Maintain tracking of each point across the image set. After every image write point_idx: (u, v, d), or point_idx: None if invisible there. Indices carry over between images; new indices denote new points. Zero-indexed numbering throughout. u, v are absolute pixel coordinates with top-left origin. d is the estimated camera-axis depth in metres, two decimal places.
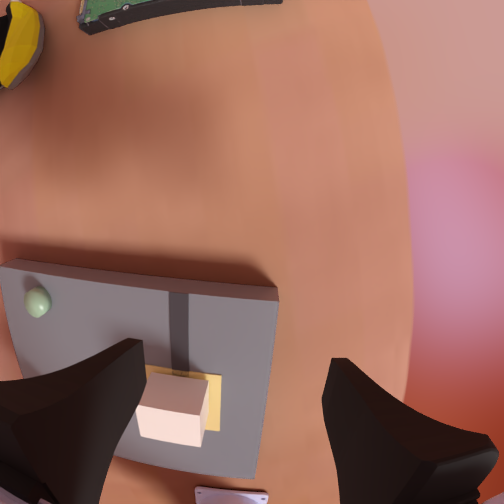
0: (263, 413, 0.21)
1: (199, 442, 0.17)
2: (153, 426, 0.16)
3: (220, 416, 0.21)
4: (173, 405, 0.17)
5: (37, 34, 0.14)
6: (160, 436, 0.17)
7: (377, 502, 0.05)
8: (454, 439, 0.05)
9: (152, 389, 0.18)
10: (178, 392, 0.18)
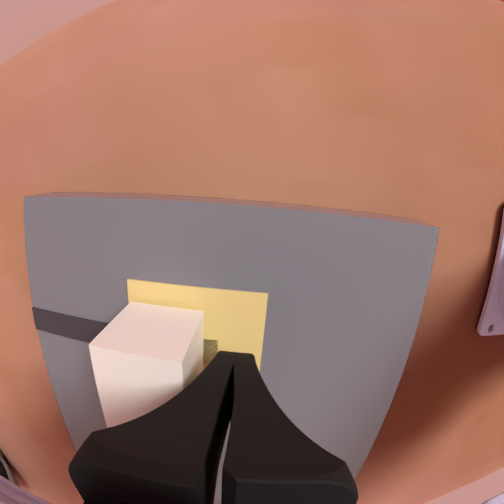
0: (211, 205, 0.11)
1: (165, 361, 0.08)
2: None
3: (226, 288, 0.12)
4: None
5: None
6: None
7: None
8: (296, 458, 0.05)
9: None
10: None
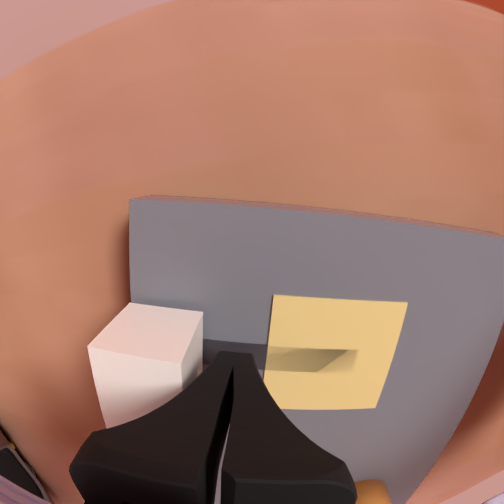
0: (369, 220, 0.11)
1: (164, 363, 0.08)
2: None
3: (373, 299, 0.12)
4: None
5: None
6: None
7: None
8: (295, 458, 0.05)
9: None
10: None
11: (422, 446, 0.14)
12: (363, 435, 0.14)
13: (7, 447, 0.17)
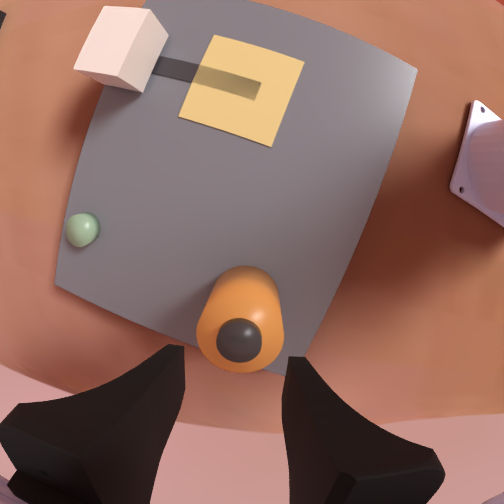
0: (284, 11, 0.15)
1: (141, 9, 0.11)
2: (105, 55, 0.12)
3: (278, 52, 0.15)
4: None
5: None
6: (121, 50, 0.12)
7: None
8: (391, 451, 0.05)
9: None
10: None
11: (322, 240, 0.18)
12: (258, 182, 0.17)
13: None
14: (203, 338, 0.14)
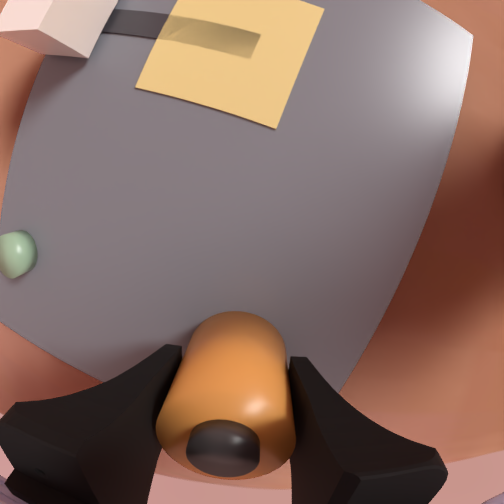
0: None
1: None
2: (29, 5, 0.06)
3: None
4: None
5: None
6: None
7: None
8: (394, 451, 0.05)
9: None
10: None
11: (352, 273, 0.12)
12: (255, 185, 0.11)
13: None
14: (167, 439, 0.08)
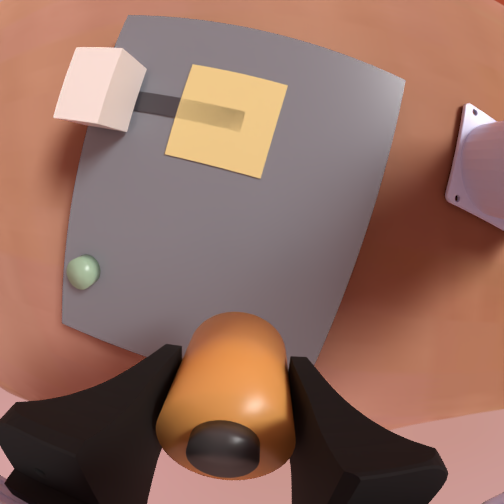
0: (262, 31, 0.15)
1: (113, 48, 0.12)
2: (83, 101, 0.12)
3: (260, 78, 0.16)
4: None
5: None
6: (98, 95, 0.12)
7: None
8: (395, 450, 0.05)
9: None
10: None
11: (318, 266, 0.18)
12: (250, 215, 0.17)
13: None
14: (168, 440, 0.08)
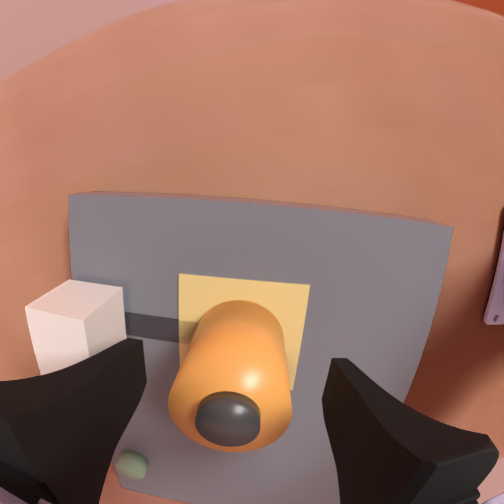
0: (261, 206, 0.13)
1: (72, 320, 0.10)
2: None
3: (273, 281, 0.13)
4: None
5: None
6: None
7: (377, 502, 0.05)
8: (454, 439, 0.05)
9: None
10: None
11: None
12: None
13: None
14: (178, 414, 0.09)
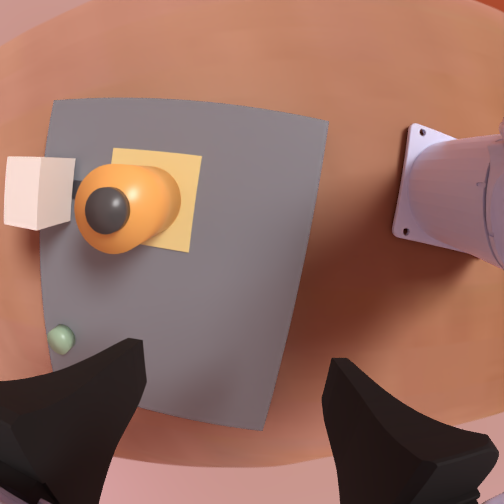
0: (172, 100, 0.16)
1: (35, 158, 0.13)
2: (22, 209, 0.14)
3: (175, 152, 0.17)
4: None
5: None
6: (32, 204, 0.14)
7: (377, 502, 0.05)
8: (454, 439, 0.05)
9: None
10: None
11: (255, 324, 0.19)
12: (185, 286, 0.19)
13: None
14: (79, 212, 0.13)
